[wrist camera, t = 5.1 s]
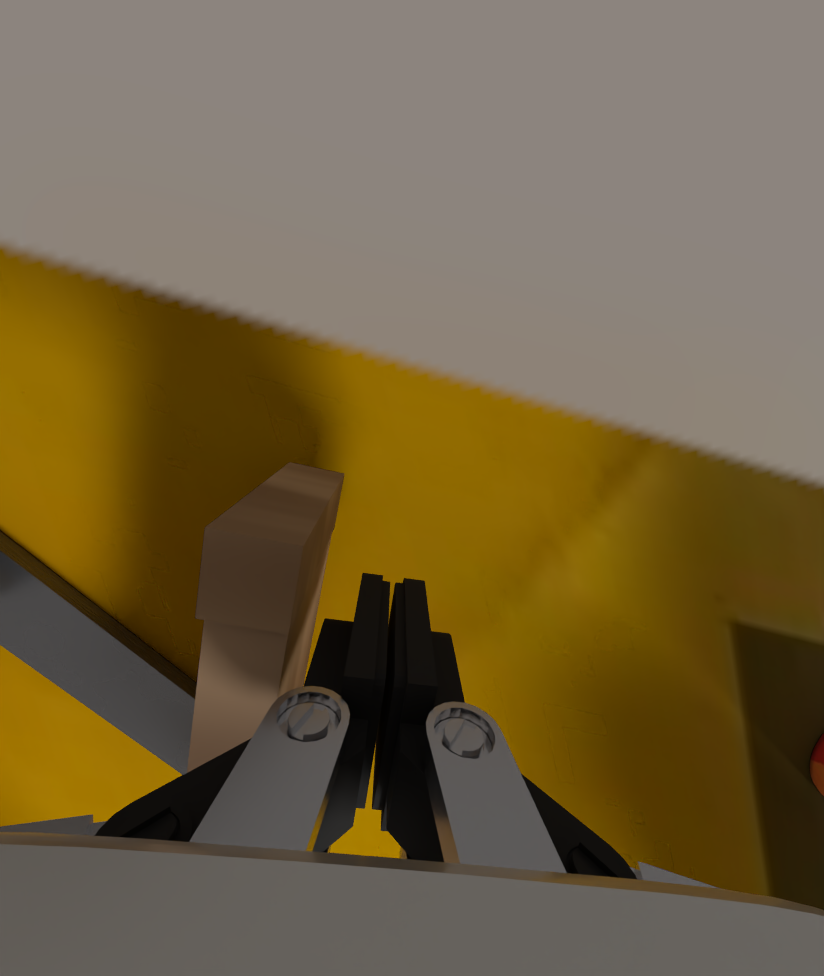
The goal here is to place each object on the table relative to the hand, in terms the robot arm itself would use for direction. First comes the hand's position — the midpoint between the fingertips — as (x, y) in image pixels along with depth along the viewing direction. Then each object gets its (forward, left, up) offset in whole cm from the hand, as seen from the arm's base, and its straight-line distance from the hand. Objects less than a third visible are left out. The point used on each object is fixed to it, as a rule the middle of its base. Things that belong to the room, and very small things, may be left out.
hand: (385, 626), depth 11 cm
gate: (+1, +4, -3) cm, 5 cm away
